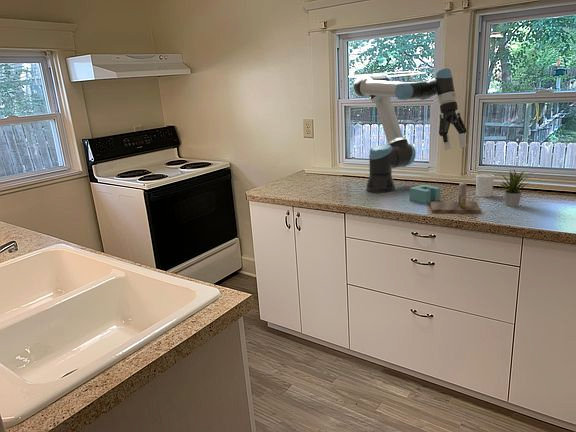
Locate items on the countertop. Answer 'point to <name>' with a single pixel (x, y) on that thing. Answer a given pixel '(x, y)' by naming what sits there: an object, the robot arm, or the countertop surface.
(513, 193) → the house plant
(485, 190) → the white cup
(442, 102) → the robot arm
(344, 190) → the countertop surface
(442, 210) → the baseplate
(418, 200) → the teal notched block
